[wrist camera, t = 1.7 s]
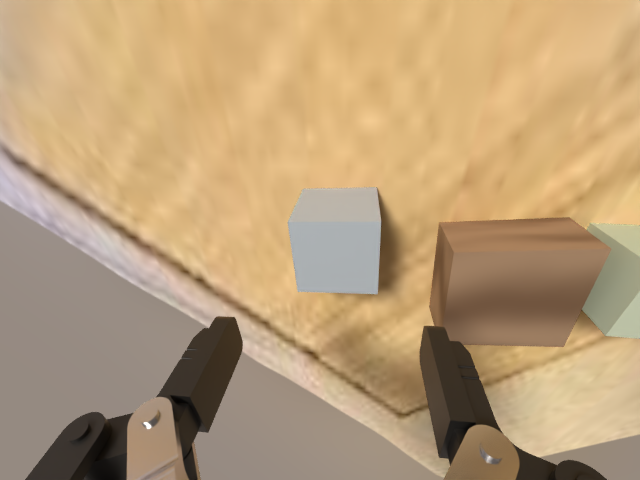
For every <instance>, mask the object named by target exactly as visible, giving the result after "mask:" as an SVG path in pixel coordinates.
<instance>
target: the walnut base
mask: <svg viewBox="0 0 640 480" xmlns="http://www.w3.org/2000/svg"><path fill="white" fill-rule="evenodd" d="M610 251H611V248H610V247H609V246H607V245H606V244H605V243H603V242H602V241H600V240H599V239H598V238H596V237H595V236H594V235H592V234H591V233H590V232H588V231H587V230H586V229H584V228H583V227H581V226H580V225H579V224H577V223H576V222H575V221H573V220H572V219H571V218H569V217H567V218H542V219H516V220H491V221H465V222H440V223H439V228H438V236H437V245H436V254H435V262H434V271H433V280H432V289H431V297H430V306H429V307H430V311H431V315H432V318H433V322H434V325H435V326H439V327H445V329H446V331H447V334H448V337H449V340H450V341H460V342H461V344H465V345H505V346H545V347H564V345H565V343H566V341H567V339H568V337H569V335H570V333H571V331H572V329H573V327H574V325H575V322H576V320H577V318H578V316H579V314H580V312H581V310H582V308H583V306H584V304H585V302H586V300H587V298H588V296H589V294H590V292H591V290H592V288H593V286H594V284H595V282H596V280H597V278H598V276H599V274H600V272H601V270H602V268H603V266H604V264H605V262H606V260H607V257H608V255H609V253H610Z"/></svg>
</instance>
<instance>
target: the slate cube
mask: <svg viewBox="0 0 640 480" xmlns="http://www.w3.org/2000/svg"><path fill="white" fill-rule="evenodd" d="M288 227H289V234H290V241H291V248H292V255H293V262H294V269H295V276H296V283H297V290H298V292H326V293H358V294H378V278H379V257H380V236H381V216H380V208H379V201H378V193H377V187H364V188H316V189H303V190H302V193H301V195H300V197H299V199H298V201H297V203H296V205H295V208H294V210H293V212H292V214H291V216H290V218H289V220H288Z"/></svg>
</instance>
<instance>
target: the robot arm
mask: <svg viewBox="0 0 640 480" xmlns="http://www.w3.org/2000/svg"><path fill="white" fill-rule="evenodd" d="M242 346H243V342H242V338H241V334H240V331H239V328H238V324H237V321H236V319H235V317H220V316H218V317H216V318H215V319H214V321H213V322H212V324H211V326H210V327H209V328H204V329H203V330H202V331H200V332H199V333H198V334H197V335H196V336H195V337H194V338H193V340H192V341H191V343H190V344H189V346H188V348H187V351H185V353H184V354H183V356H182V359H181V360H180V361H179V362H178V364H177V366H176V367H175V368H174V370H173V372H172V373H171V375H170V377H169V378H168V380H167V382H166V383H165V385H164V386H163V388H162V389H161V391H160V393H159V394H158V395H157V397H156V398H153V399H150V400H148V401H146V402H145V403H144V404H142V405H141V406H140V407H139V408H138V409H137V410H136V411H135V412H134V413H131V414H127V415H124V416H119V417H115V418H112V419H106V418H105V417H104V416H103V415H102V414H101V413H99V412H91V413H88V414H85V415H83V416H81V417H79V418H77V419H76V420H74V421H73V422H72V423H70V424H69V425H68V426H67V427H66V428H65V429H64V430H63V432H62V433H61V434H60V435H59V436H58V438H57V439H56V440H55V442H54V443H53V444H52V446H51V447H50V448H49V450H48V451H47V452H46V453H45V455H44V456H43V457H42V459H41V460H40V461H39V463H38V464H37V465H36V466H35V468H34V469H33V470H32V472H31V473H30V474H29V475H28V477H27V478H26V479H25V480H201V478H200V472H199V466H198V460H197V455H196V449H195V444H194V439H195V437H196V435H197V432H209V429H210V427H211V425H212V422H213V420H214V417H215V415H216V413H217V410H218V408H219V406H220V403H221V401H222V398H223V396H224V394H225V391H226V389H227V386H228V384H229V381H230V379H231V377H232V374H233V372H234V370H235V367H236V365H237V362H238V360H239V357H240V355H241V352H242ZM420 365H421V371H422V376H423V380H424V385H425V390H426V395H427V400H428V405H429V410H430V415H431V420H432V425H433V430H434V435H435V440H436V445H437V449H438V454H439V458H448V459H449V463H450V468H449V470H448V472H447V474H446V476H445V478H444V480H607V479H606V478H604V477H603V476H602V475H601V474H600V473H598V472H597V471H596V470H594V469H593V468H591V467H589V466H587V465H585V464H583V463H581V462H578V461H573V460H567V461H562V462H561V463H559V464H558V465H555V464H553V463H550V462H548V461H545V460H543V459H541V458H538V457H536V456H533V455H531V454H529V453H527V452H525V451H523V450H521V449H519V448H518V447H517V446H515V445H514V444H513V443H512V442H511V441H510V440H509V439H508V438H507V437H506V436H505V435H504V434H503V433H502V431H501V430H500V428H499V427H498V425H497V422H496V420H495V417H494V415H493V412H492V410H491V407H490V404H489V402H488V399H487V397H486V394H485V391H484V389H483V386H482V384H481V381H480V380H479V376H478V373H477V371H476V369H475V365H474V363H473V360H472V358H471V355H470V353H469V352H468V351H467V349H466V348H465V347H464V346H463V345H462V344H461V342H460V341H450V340H449V337H448V334H447V331H446V329H445V327H439V326H424V329H423V334H422V341H421V347H420Z"/></svg>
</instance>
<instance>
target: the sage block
mask: <svg viewBox="0 0 640 480" xmlns="http://www.w3.org/2000/svg"><path fill="white" fill-rule="evenodd" d="M587 231H588V232H590V233H591V234H592V235H594V236H595V237H596V238H598V239H599V240H600V241H602V242H603V243H605V244H606V245H607V246H609V247H610V248H611V251H610V253H609V255H608V257H607V260H606V262H605V264H604V266H603V268H602V270H601V272H600V274H599V276H598V278H597V280H596V282H595V284H594V286H593V288H592V290H591V292H590V294H589V296H588V298H587V300H586V302H585V304H584V306H583V308H582V310H583V311H584V313H585V314H586V315H587V316H588V317H589V318H590V319H591V320H592V321H593V323H594V324H595V325H596V326H597V327H598V328H599V329H600V330H601V331H602V333H603V334H604V335H605V336H613V337H625V338H636V339H640V225H626V224H605V223H590V225H589V226H588V228H587Z"/></svg>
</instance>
